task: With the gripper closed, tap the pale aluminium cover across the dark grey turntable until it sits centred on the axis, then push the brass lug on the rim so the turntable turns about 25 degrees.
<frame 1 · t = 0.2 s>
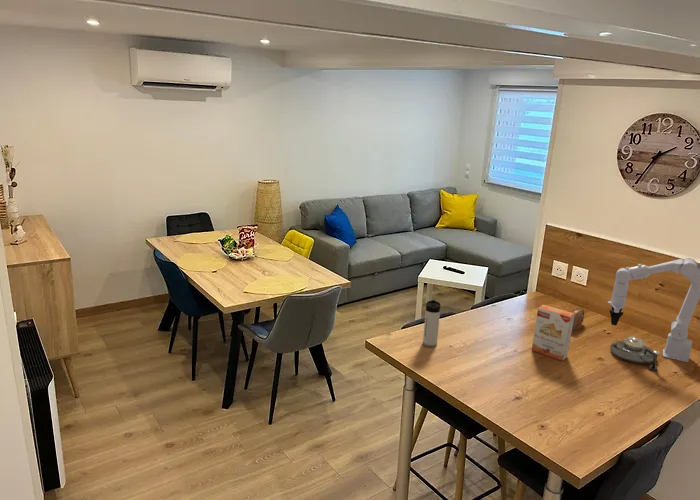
hand: (614, 321, 243), 10 cm above the table, tool pointing down, fingers open, 7 cm apart
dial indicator: (652, 369, 221), on the table
tin: (574, 327, 259), on the table
turntable: (633, 348, 231), point 3 cm above the table, hinge at 0.0°, touching cover
cover: (633, 346, 235), point 3 cm above the table, touching turntable
travel mug: (429, 344, 236), on the table
cracker box: (549, 354, 231), on the table
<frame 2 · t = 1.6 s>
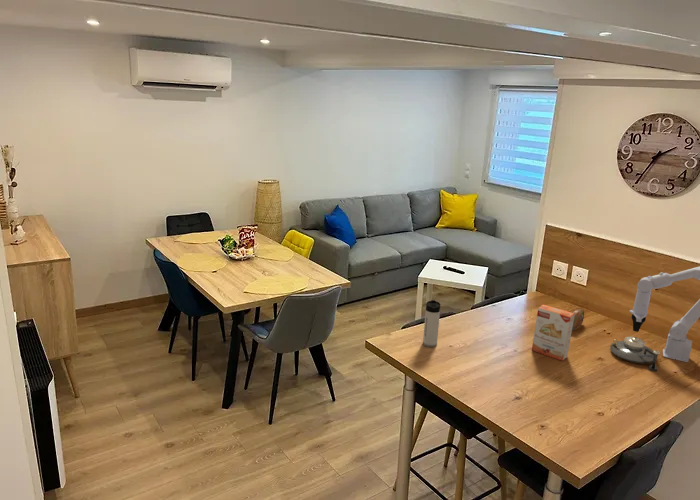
hand: (635, 330, 241), 7 cm above the table, tool pointing down, fingers closed
nothing on the table moved.
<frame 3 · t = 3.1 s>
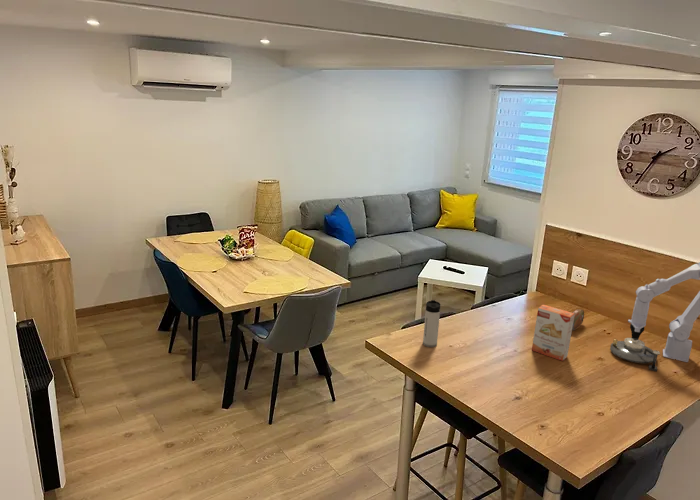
hand: (634, 340, 238), 4 cm above the table, tool pointing down, fingers closed
turntable: (633, 348, 231), point 3 cm above the table, hinge at 0.0°
cover: (633, 347, 234), point 3 cm above the table
everything else where it was.
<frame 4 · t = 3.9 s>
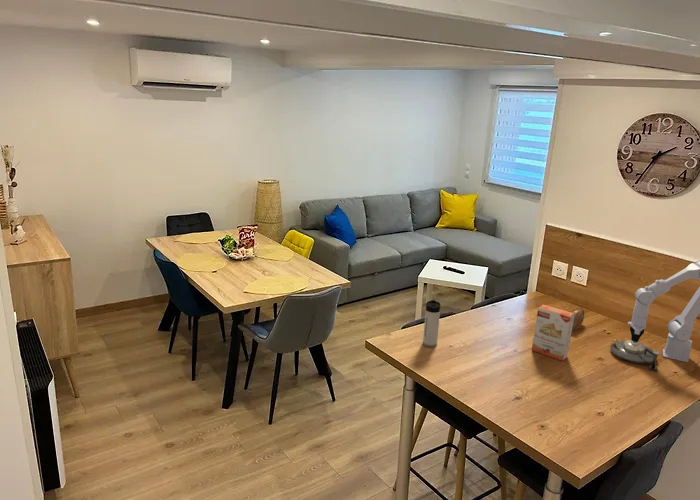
hand: (634, 343, 235), 4 cm above the table, tool pointing down, fingers closed
turntable: (633, 348, 231), point 3 cm above the table, hinge at 0.0°, touching cover
cover: (633, 350, 231), point 3 cm above the table, touching turntable
everything else where it was.
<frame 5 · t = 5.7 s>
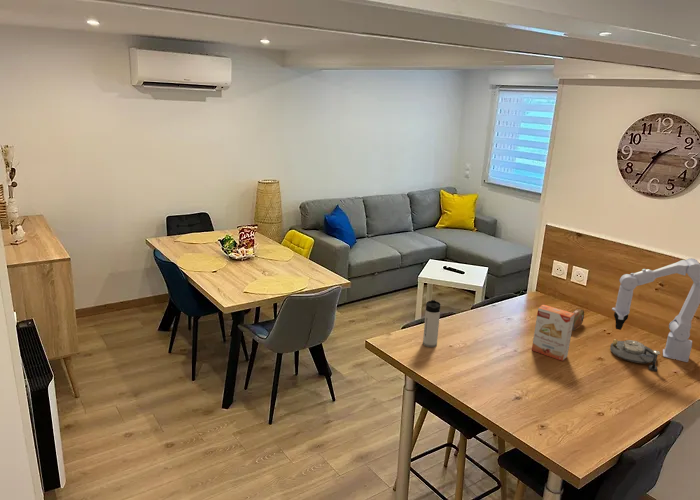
hand: (618, 328, 238), 9 cm above the table, tool pointing down, fingers closed
nothing on the table moved.
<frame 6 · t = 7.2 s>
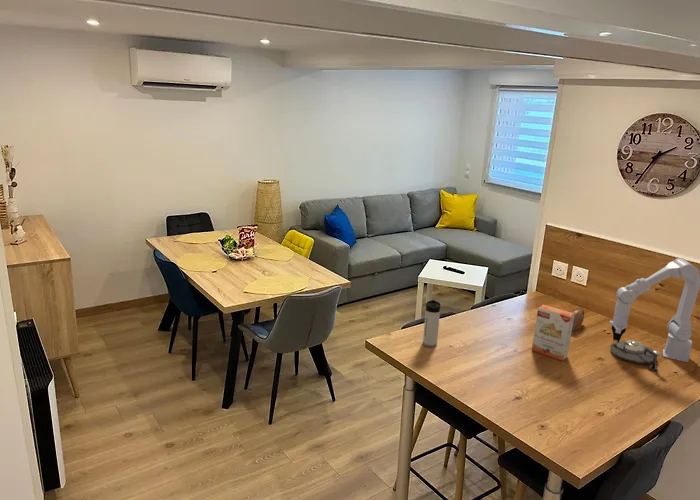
hand: (615, 342, 236), 4 cm above the table, tool pointing down, fingers closed
turntable: (633, 348, 231), point 3 cm above the table, hinge at 0.7°, touching cover, gripper
everything else where it was.
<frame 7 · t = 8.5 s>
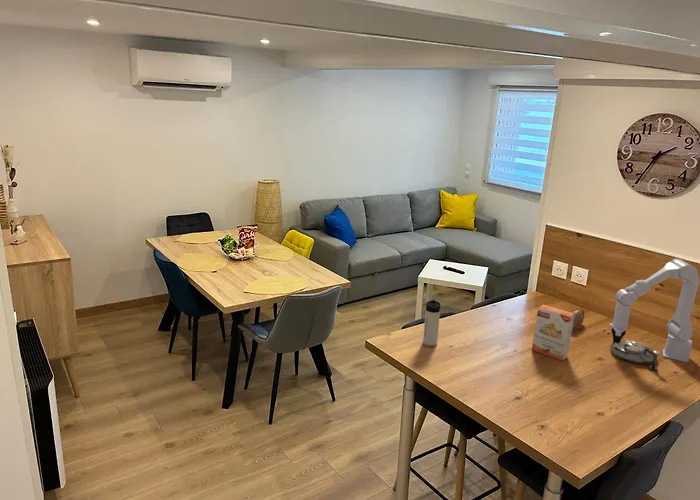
hand: (615, 344, 233), 4 cm above the table, tool pointing down, fingers closed
turntable: (633, 348, 231), point 3 cm above the table, hinge at 23.2°, touching cover, gripper
everything else where it was.
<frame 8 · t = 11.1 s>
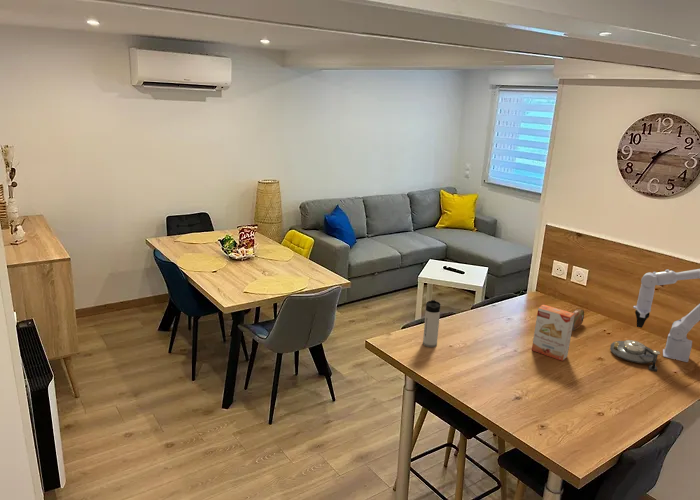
hand: (639, 326, 239), 9 cm above the table, tool pointing down, fingers closed
turntable: (633, 348, 231), point 3 cm above the table, hinge at 23.2°, touching cover
everything else where it was.
at the end: cover 0.2 cm from the turntable (horizontally); turntable at +23° (first picture: +0°); cover tilted 0° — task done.
